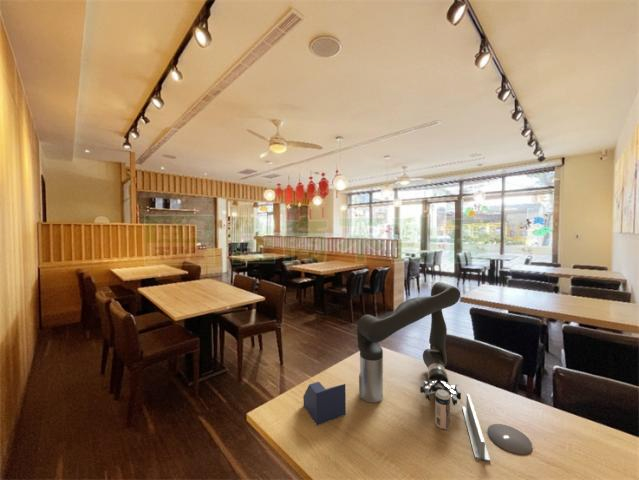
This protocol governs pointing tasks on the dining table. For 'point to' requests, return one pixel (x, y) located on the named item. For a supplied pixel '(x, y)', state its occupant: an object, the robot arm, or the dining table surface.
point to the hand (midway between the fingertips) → (441, 400)
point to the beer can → (442, 409)
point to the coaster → (509, 439)
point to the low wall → (475, 432)
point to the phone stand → (325, 402)
